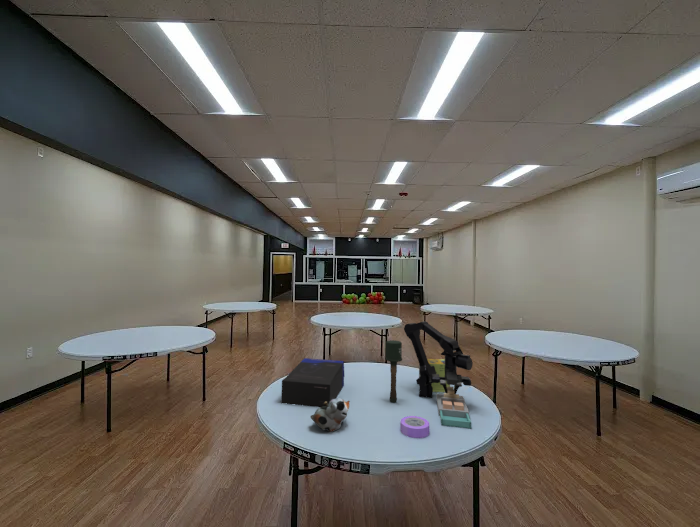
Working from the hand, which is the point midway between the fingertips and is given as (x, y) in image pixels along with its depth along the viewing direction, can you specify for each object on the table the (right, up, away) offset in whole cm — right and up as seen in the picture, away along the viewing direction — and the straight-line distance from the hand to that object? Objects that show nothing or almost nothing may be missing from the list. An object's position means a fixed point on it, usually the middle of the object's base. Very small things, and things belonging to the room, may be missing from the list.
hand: (450, 397), depth 156 cm
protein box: (-2, -5, +22) cm, 22 cm away
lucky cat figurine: (-58, -2, -24) cm, 63 cm away
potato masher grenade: (-28, -3, +2) cm, 29 cm away
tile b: (0, 0, -12) cm, 12 cm away
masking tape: (-24, -2, -28) cm, 36 cm away
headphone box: (-68, -3, +12) cm, 70 cm away
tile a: (-5, 0, -11) cm, 12 cm away
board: (-1, -3, -5) cm, 6 cm away
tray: (-4, -3, -19) cm, 20 cm away
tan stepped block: (-1, 0, -3) cm, 3 cm away
